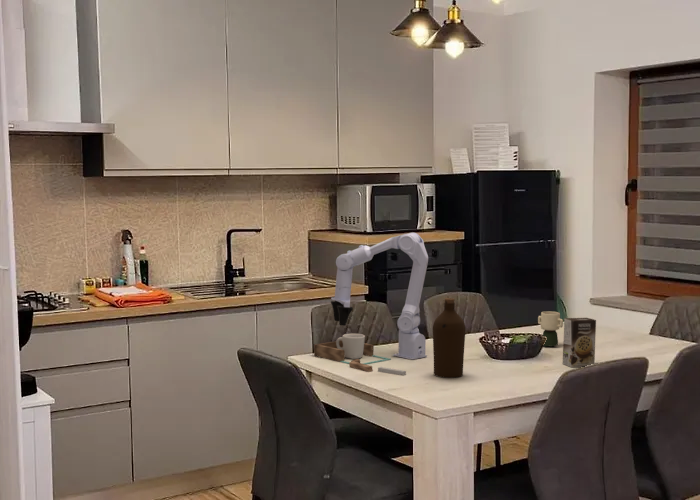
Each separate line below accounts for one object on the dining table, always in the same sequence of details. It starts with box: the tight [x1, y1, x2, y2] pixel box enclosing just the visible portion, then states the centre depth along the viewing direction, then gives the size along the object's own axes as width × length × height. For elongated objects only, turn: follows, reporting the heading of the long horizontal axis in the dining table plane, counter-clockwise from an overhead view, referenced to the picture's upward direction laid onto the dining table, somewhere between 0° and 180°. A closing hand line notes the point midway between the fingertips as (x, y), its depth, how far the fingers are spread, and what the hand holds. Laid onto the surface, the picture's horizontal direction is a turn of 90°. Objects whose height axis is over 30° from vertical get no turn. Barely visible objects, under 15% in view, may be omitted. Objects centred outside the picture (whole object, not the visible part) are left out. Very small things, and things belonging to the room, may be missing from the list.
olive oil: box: [432, 297, 467, 379], centre depth 290 cm, size 11×11×25 cm
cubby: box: [313, 340, 375, 362], centre depth 320 cm, size 15×15×4 cm
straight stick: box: [377, 366, 407, 377], centre depth 293 cm, size 10×2×2 cm, turn 53°
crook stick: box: [348, 358, 373, 373], centre depth 299 cm, size 11×4×2 cm, turn 39°
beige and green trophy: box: [537, 310, 564, 348], centre depth 340 cm, size 11×7×13 cm, turn 44°
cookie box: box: [562, 317, 597, 368], centre depth 306 cm, size 9×6×16 cm
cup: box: [335, 333, 366, 360], centre depth 317 cm, size 11×8×8 cm
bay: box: [339, 354, 392, 365], centre depth 312 cm, size 9×16×1 cm, turn 133°
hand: (339, 323), depth 327 cm, fingers open, 7 cm apart
